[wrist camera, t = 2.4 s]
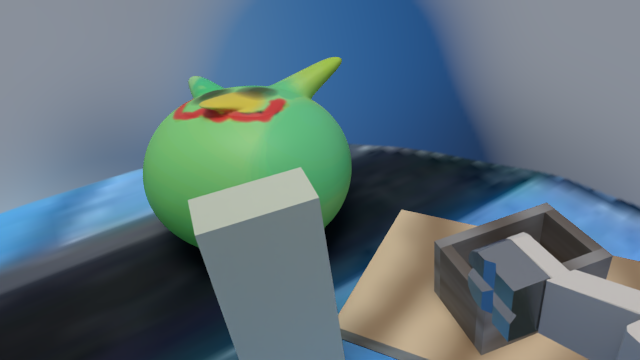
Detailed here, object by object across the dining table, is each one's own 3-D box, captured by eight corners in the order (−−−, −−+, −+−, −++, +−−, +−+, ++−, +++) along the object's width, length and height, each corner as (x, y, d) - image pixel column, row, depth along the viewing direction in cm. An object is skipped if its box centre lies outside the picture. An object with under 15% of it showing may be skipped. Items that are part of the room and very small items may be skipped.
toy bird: (139, 283, 44) (71, 138, 36) (213, 173, 57) (176, 49, 49) (341, 299, 39) (317, 139, 31) (370, 176, 53) (358, 40, 44)
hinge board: (333, 336, 37) (323, 276, 33) (402, 219, 46) (399, 164, 43) (655, 452, 28) (687, 387, 24) (657, 277, 37) (680, 212, 34)
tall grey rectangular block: (262, 425, 32) (194, 235, 23) (248, 368, 35) (184, 185, 26) (349, 390, 33) (319, 197, 24) (327, 339, 37) (293, 154, 27)
